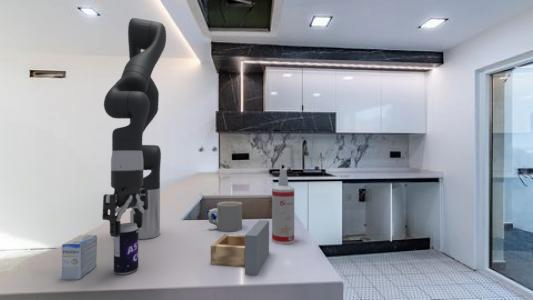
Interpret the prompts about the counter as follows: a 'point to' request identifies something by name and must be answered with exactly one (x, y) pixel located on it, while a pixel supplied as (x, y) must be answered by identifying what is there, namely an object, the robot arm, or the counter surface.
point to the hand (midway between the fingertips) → (127, 231)
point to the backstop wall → (256, 247)
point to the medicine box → (79, 256)
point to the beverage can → (126, 249)
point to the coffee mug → (227, 216)
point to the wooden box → (229, 250)
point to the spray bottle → (283, 211)
